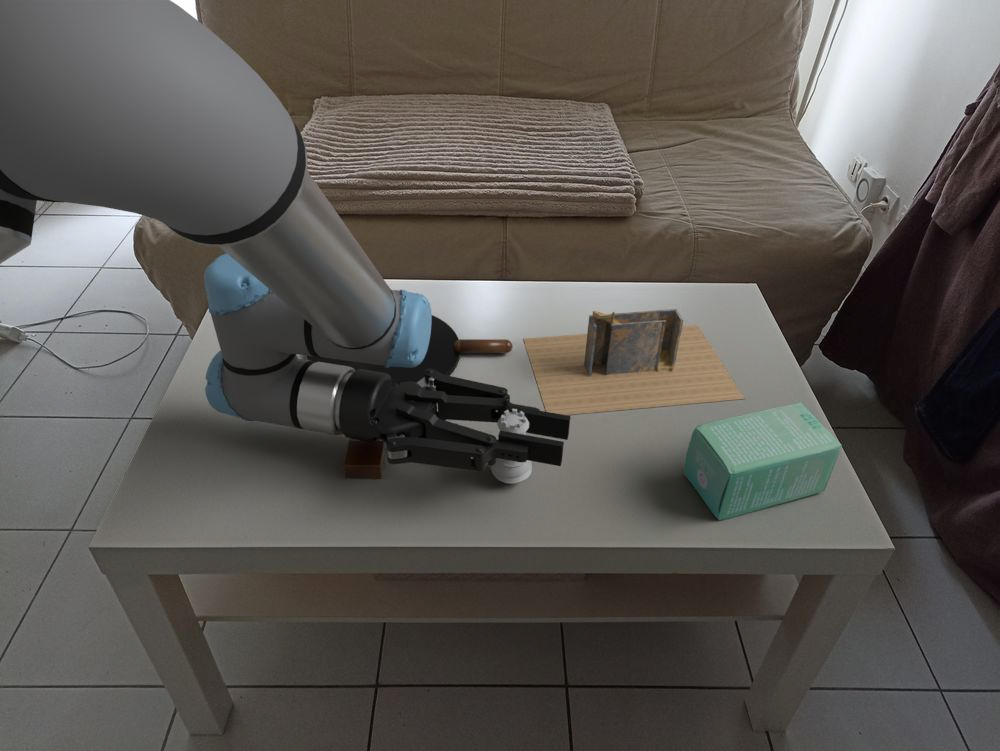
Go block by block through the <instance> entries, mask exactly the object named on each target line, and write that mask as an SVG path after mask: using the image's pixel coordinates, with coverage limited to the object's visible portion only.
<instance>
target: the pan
mask: <svg viewBox="0 0 1000 751" xmlns="http://www.w3.org/2000/svg"><path fill="white" fill-rule="evenodd" d="M431 315H432V323H431V334H430V340H429V345H428V349H427V352H426V355H425V357H424V359H423V361H422V362H421V363H420V364H419V365H418V366H416V367H413V368H406V367H393V366H390V367H389V368H386V367H384V366H383V365H375V364H368V363H361V362H353V361H346V360H339V359H332V358H324V357H314V356H306V360H311V361H315V362H323V363H329V364H336V365H342V366H349V367H352V368H354V370H355V371H357V370H358V369H364V370H370V371H376V372H382V373H386V374H388V375H390V376H391V377H392V378H393V379H394V380H395V381H396V382H399V383H404V382H415V383H417V382H418V381H420V380H421V379H422V378H424V377H425V376H424V371H425V370H426V369H428V368H432V369H434V370H436V371H438V372H440V373H442V374H444V375H448V376H451V375H452V374H453V373H454V371H455V370H456V368H457V367H458V365H459V362H460V359H461V354H509V353H510V352H511V351H512V350H513V342H512V341H511V340H509V339H507V338H506V339H501V338H499V339H498V338H497V339H493V338H492V339H489V338H488V339H485V338H484V339H482V338H480V339H477V338H473V339H472V338H471V339H468V338H464V339H461V338H460V339H459V337H458V335H457V332H456V331H455V330H454V329H453V328H452V326H450V325H449V324H448V323H447V322H445V321H444V320H442V319H441V318H439V317H437V316H435V315H433V314H431Z"/></svg>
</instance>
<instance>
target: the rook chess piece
mask: <svg viewBox="0 0 1000 751" xmlns="http://www.w3.org/2000/svg"><path fill="white" fill-rule="evenodd" d="M497 428H498V430H499V431H500V430H501V431H506V432H512V433H517V434H523V435H527V433H526V431H527V429H528V428H529V422H528V419H527V418H526V417H524V413H523V412H522V411H520V413H517V409H512V412H510V413H509V411H508V410H506V411H504V415H502V416H501V417H500V419H499V420H498V423H497ZM532 462H533V461H529V460H527V461H526V462H516V461H510V460H504V459H499V458H496V463H495V464H494V465H492V466H490V470H491V472H492V474H493V475H492V476H494V477H495V478H496V479H497V480H498V481H499V482H502V483H505V484H508V485H509V484H511V485H515V484H519V483H522V482H524V481H525V480H527V479H528V478H529V477H530V475H531V474H532V472H533V464H532Z"/></svg>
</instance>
